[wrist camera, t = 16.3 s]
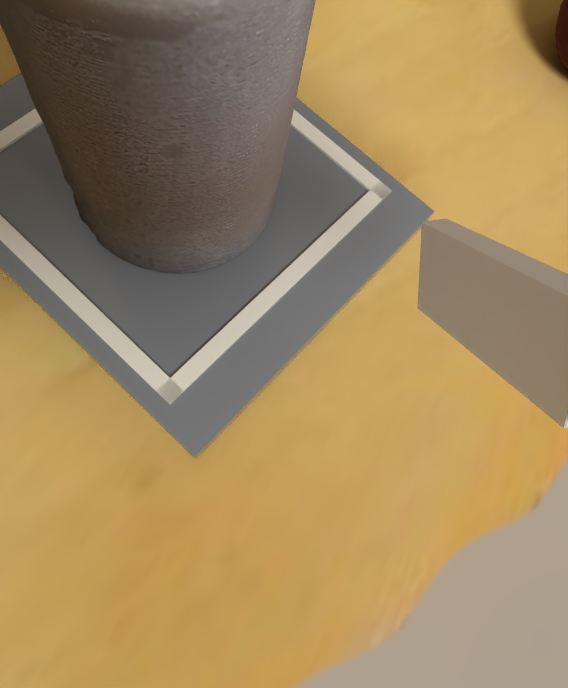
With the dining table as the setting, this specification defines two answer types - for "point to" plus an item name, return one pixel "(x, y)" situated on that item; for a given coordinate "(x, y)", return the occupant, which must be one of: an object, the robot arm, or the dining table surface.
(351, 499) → the dining table surface
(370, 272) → the slate tile
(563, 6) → the potato
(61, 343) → the dining table surface
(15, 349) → the dining table surface
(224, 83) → the pillar candle
